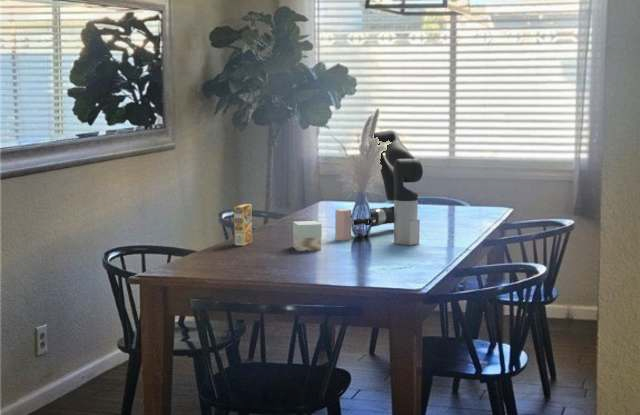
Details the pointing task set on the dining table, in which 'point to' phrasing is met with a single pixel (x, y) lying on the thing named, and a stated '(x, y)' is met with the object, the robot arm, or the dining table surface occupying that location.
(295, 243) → the tower base
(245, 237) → the candy box
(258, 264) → the dining table surface
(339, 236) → the pillar block
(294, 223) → the tower top
